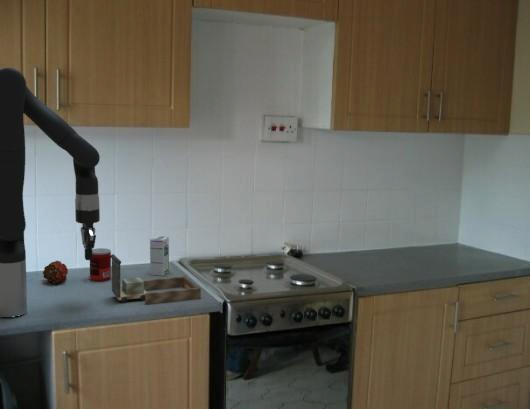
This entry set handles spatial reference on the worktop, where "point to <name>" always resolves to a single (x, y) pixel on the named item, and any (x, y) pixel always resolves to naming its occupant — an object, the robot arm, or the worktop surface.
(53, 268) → the dragon fruit
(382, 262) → the worktop surface
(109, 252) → the canned food
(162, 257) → the syrup box
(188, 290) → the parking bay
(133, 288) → the grey l-shaped piece
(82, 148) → the robot arm
